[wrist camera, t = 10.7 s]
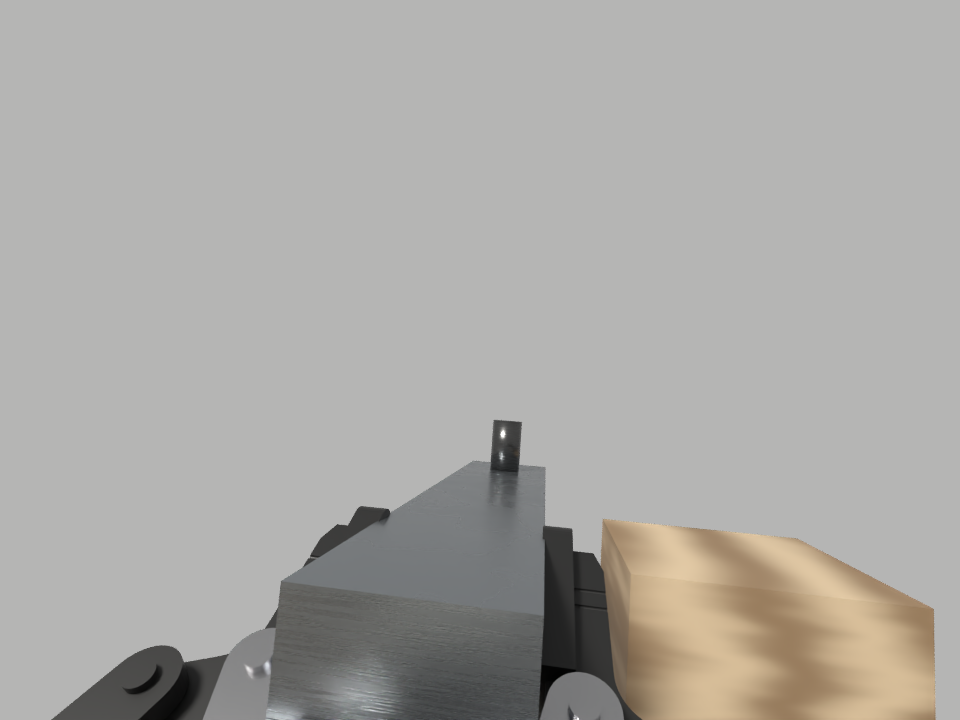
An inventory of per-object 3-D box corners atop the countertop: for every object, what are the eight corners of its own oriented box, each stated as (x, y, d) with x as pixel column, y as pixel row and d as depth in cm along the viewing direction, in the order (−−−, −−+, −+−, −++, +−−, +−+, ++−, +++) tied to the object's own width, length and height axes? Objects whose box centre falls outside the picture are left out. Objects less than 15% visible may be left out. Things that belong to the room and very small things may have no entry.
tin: (540, 542, 26) (547, 423, 27) (526, 930, 6) (553, 444, 7) (468, 534, 27) (476, 417, 27) (248, 869, 7) (298, 423, 8)
